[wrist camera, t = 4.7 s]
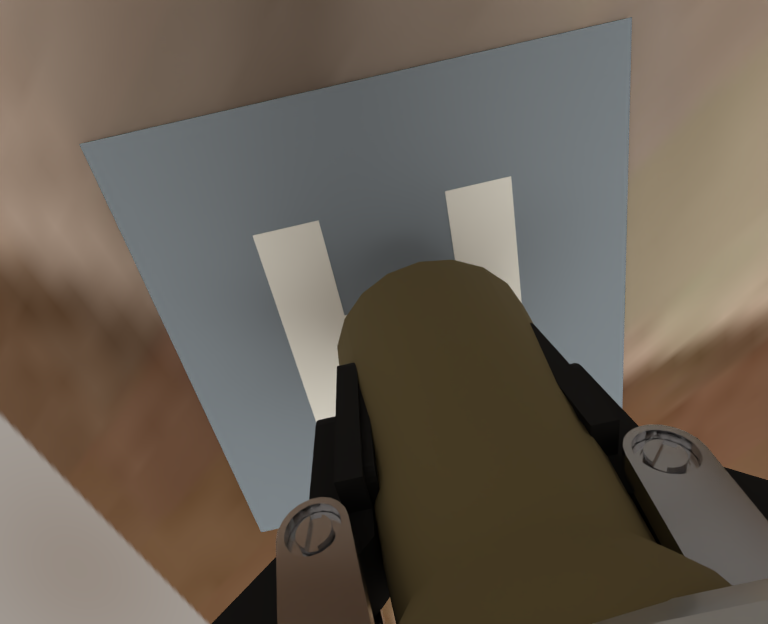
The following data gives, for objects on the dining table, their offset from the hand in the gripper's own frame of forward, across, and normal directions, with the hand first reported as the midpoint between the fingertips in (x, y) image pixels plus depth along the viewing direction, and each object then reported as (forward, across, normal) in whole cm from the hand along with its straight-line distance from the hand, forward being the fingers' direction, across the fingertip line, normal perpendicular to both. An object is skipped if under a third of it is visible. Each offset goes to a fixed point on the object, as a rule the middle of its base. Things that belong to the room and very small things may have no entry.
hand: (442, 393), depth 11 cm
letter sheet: (+6, 0, +1) cm, 6 cm away
